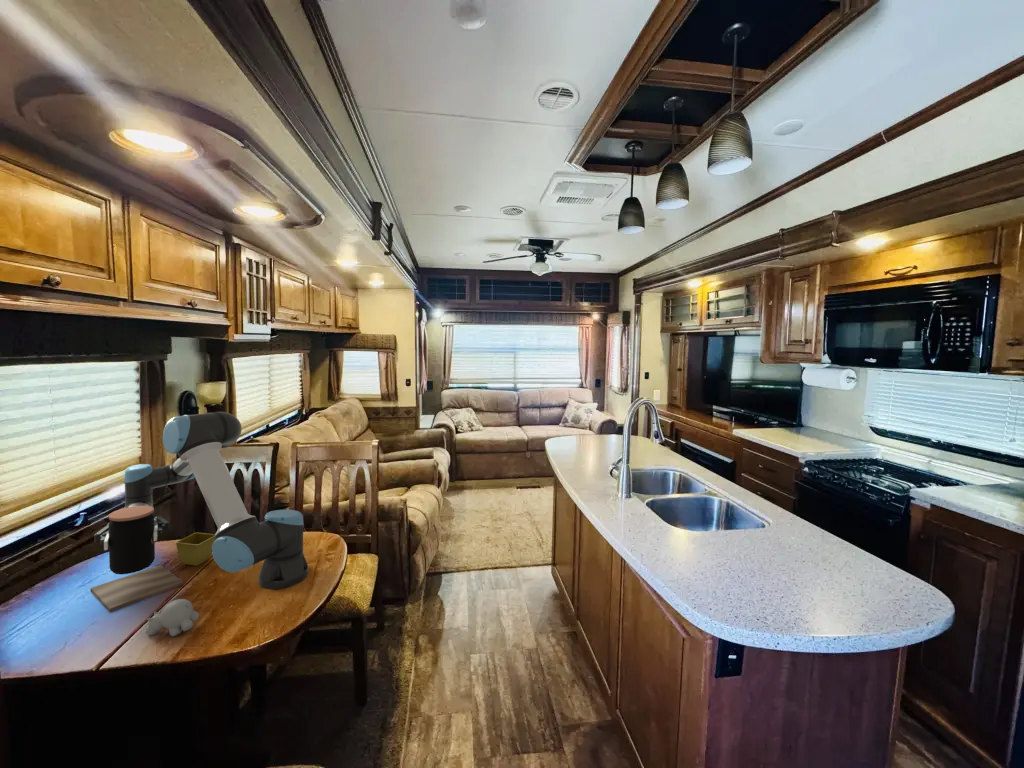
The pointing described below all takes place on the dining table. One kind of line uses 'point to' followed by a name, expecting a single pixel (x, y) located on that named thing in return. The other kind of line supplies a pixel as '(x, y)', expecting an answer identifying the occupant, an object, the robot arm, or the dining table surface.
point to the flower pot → (195, 548)
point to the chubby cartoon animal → (173, 618)
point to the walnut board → (135, 587)
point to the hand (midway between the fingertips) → (131, 541)
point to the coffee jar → (131, 539)
